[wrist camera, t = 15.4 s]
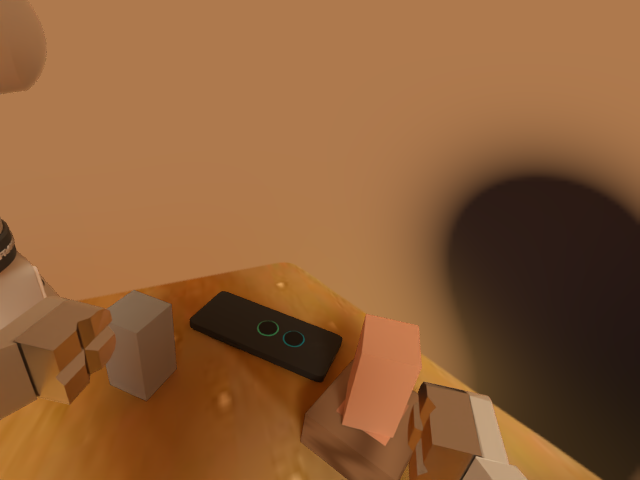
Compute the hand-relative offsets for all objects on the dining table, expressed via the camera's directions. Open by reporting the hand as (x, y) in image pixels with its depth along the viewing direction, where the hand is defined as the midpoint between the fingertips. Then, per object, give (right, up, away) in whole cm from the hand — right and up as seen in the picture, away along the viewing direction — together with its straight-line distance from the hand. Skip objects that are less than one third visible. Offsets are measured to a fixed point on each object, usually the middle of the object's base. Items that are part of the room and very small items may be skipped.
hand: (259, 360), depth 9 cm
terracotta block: (+7, -14, +28) cm, 32 cm away
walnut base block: (+6, -19, +31) cm, 37 cm away
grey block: (-19, -13, +34) cm, 41 cm away
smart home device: (-6, -11, +42) cm, 44 cm away
